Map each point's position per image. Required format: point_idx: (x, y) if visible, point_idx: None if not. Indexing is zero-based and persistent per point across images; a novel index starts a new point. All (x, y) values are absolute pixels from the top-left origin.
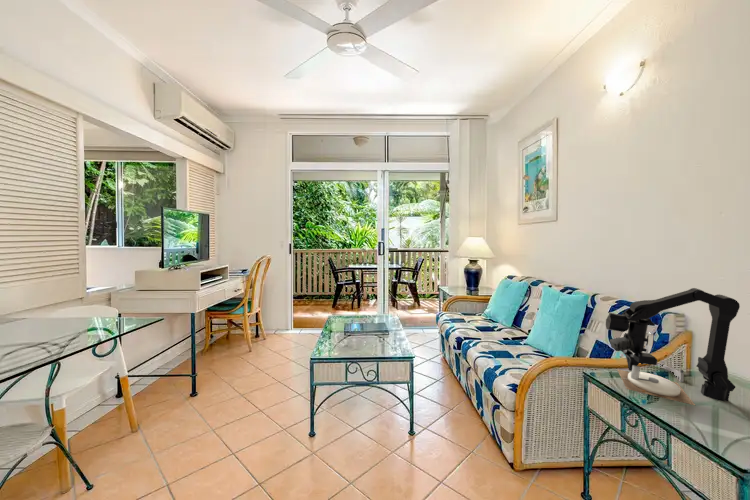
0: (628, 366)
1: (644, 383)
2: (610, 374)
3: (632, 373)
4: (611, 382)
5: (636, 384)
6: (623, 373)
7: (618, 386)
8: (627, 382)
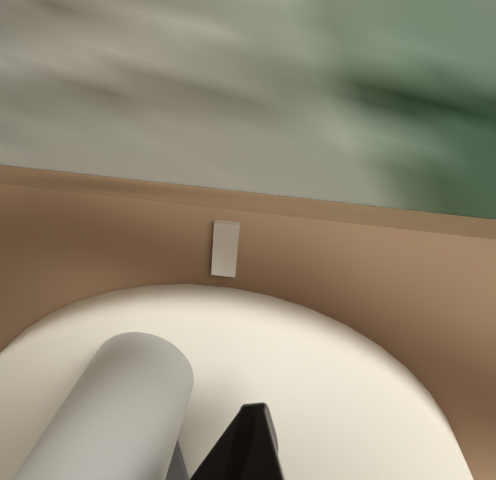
0: (252, 460)
1: (35, 434)
2: (482, 104)
3: (71, 402)
4: (130, 30)
5: (28, 334)
6: (470, 300)
7: (43, 105)
8: (113, 248)
